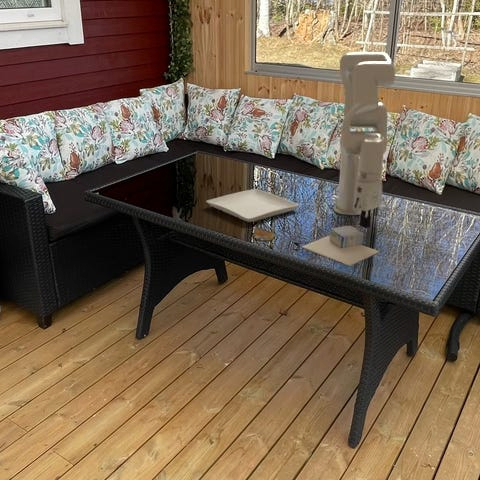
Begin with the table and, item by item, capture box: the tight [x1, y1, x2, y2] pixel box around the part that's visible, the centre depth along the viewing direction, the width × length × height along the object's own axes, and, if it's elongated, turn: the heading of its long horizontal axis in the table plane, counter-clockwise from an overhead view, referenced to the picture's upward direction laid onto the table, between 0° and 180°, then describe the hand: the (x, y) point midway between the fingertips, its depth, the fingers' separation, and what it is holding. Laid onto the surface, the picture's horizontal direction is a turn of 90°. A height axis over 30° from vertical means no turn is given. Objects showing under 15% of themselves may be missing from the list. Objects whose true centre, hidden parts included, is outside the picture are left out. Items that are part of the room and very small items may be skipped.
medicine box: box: [329, 224, 364, 248], centre depth 188 cm, size 8×4×9 cm
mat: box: [301, 234, 380, 267], centre depth 184 cm, size 20×16×1 cm
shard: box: [253, 225, 277, 241], centre depth 196 cm, size 11×8×2 cm
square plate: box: [205, 188, 300, 223], centre depth 220 cm, size 27×27×4 cm
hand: (364, 226), depth 190 cm, fingers closed
